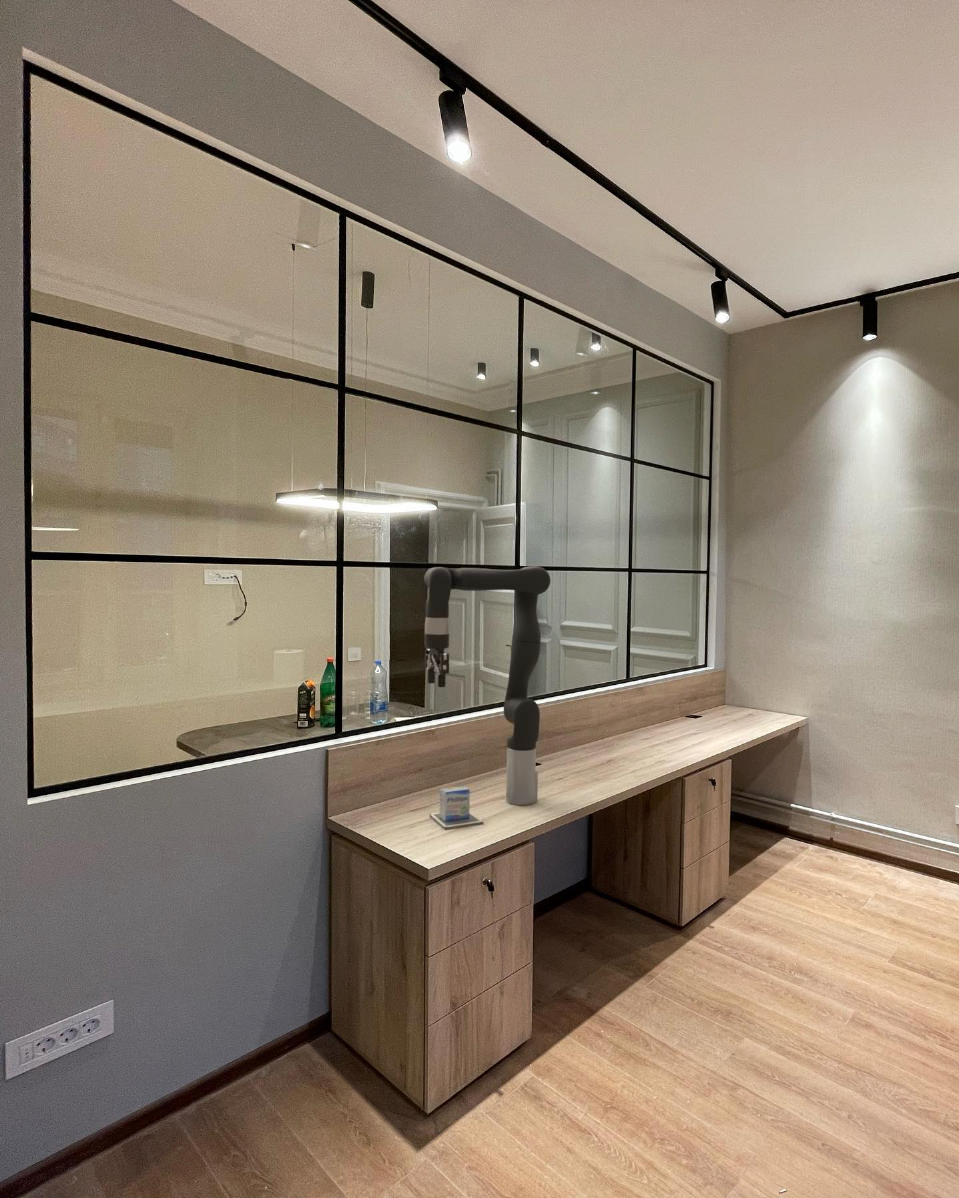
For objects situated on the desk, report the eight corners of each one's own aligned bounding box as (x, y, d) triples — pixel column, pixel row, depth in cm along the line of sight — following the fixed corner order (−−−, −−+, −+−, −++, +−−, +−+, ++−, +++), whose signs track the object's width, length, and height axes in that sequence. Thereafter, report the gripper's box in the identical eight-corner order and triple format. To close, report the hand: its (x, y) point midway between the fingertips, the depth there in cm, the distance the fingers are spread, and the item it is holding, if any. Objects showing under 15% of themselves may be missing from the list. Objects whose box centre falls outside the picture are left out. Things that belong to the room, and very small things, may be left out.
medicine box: (444, 822, 196) (445, 792, 196) (439, 817, 200) (439, 788, 200) (469, 818, 200) (470, 789, 199) (463, 813, 204) (464, 785, 203)
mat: (466, 810, 208) (466, 808, 208) (483, 823, 197) (483, 821, 197) (429, 816, 203) (429, 813, 203) (444, 829, 192) (445, 827, 192)
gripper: (457, 633, 204) (456, 687, 204) (439, 630, 217) (438, 681, 217) (434, 634, 201) (433, 689, 201) (417, 630, 213) (416, 682, 214)
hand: (436, 685), depth 209 cm, fingers open, 8 cm apart
